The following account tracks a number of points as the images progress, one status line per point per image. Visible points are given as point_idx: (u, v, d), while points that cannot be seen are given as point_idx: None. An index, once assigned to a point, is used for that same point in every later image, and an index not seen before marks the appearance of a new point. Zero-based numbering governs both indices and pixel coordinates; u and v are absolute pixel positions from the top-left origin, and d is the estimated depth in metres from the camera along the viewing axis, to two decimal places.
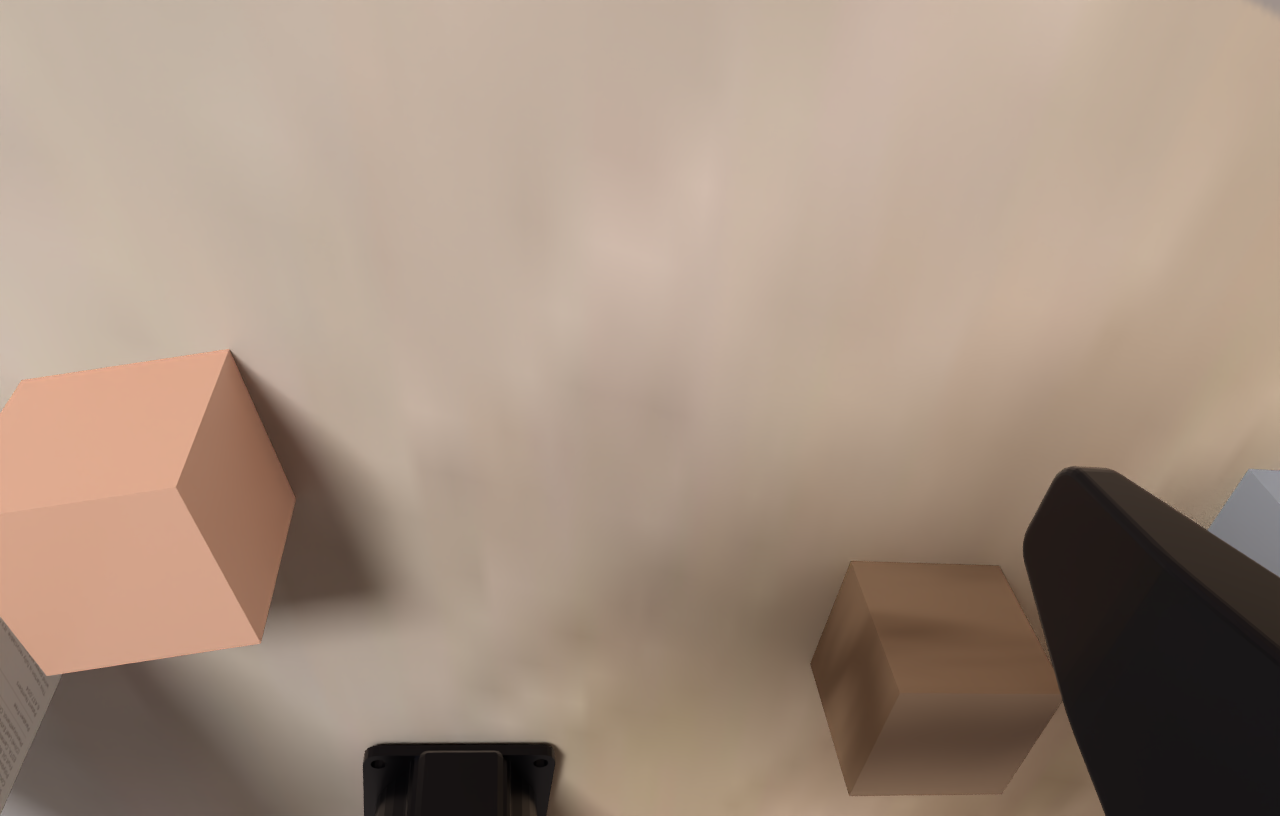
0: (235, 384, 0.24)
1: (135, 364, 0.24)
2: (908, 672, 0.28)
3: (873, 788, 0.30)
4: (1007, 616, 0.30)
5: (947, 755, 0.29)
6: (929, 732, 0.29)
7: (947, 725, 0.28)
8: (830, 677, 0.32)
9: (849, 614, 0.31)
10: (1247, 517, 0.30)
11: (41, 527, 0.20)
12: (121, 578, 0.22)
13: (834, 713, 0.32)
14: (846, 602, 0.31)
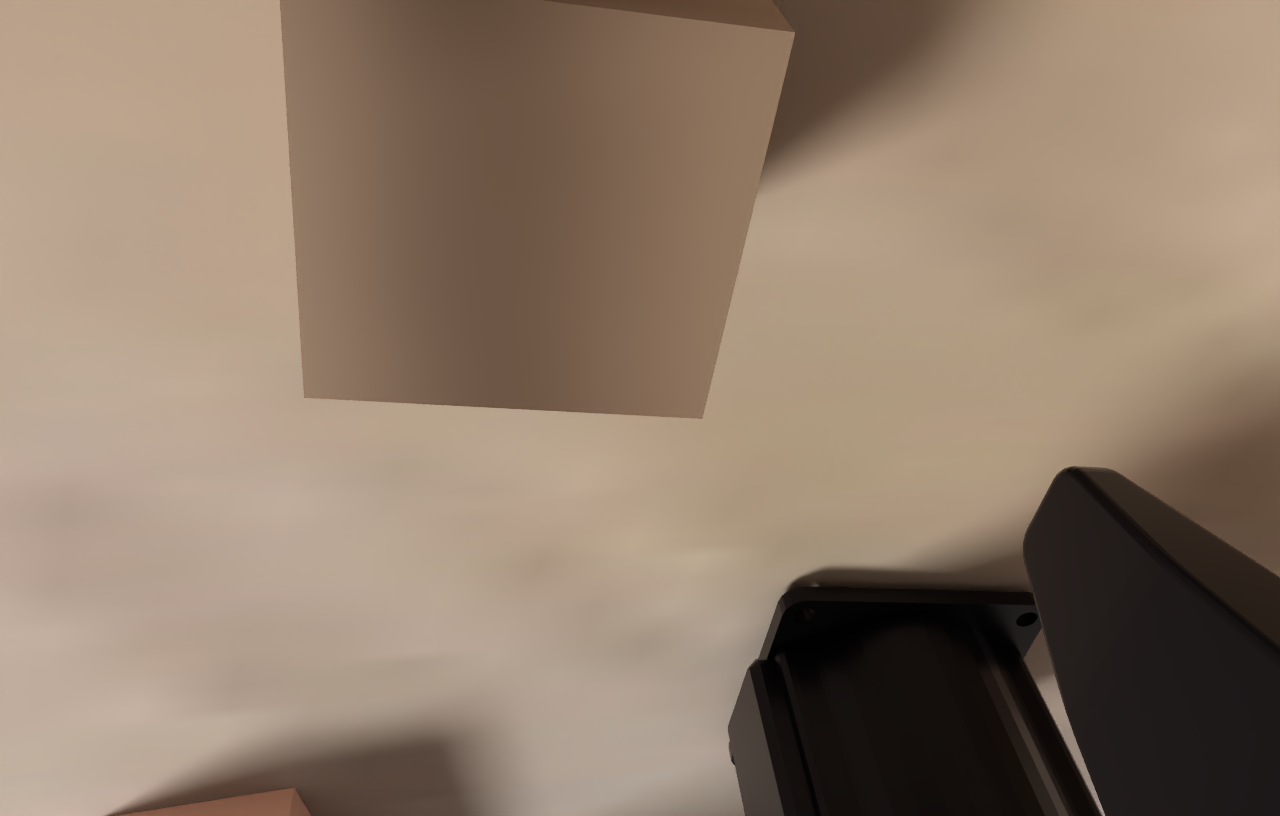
0: None
1: None
2: None
3: (681, 376, 0.13)
4: None
5: (563, 241, 0.11)
6: (459, 303, 0.12)
7: (429, 270, 0.11)
8: None
9: None
10: None
11: None
12: None
13: None
14: None
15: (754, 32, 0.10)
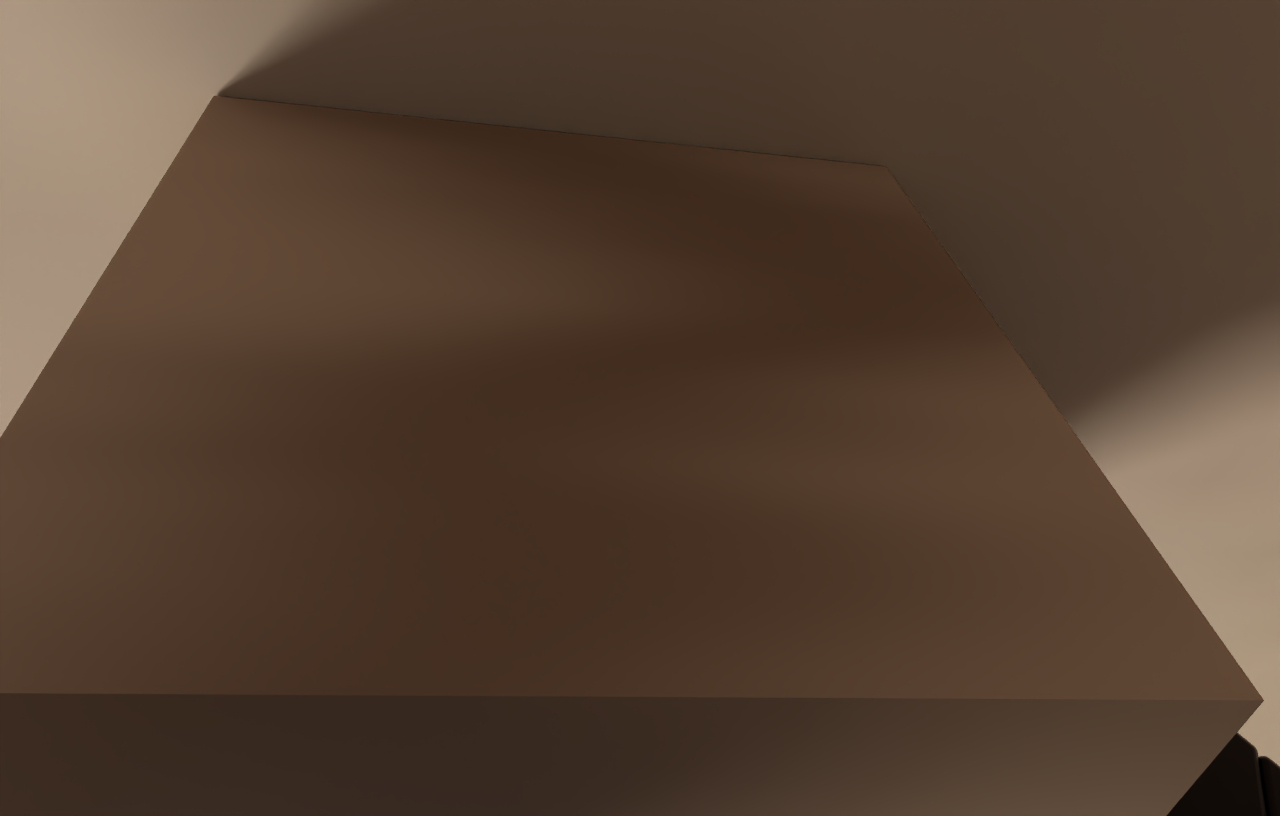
0: None
1: None
2: None
3: None
4: None
5: None
6: None
7: None
8: None
9: None
10: None
11: None
12: None
13: None
14: None
15: (1160, 702, 0.04)
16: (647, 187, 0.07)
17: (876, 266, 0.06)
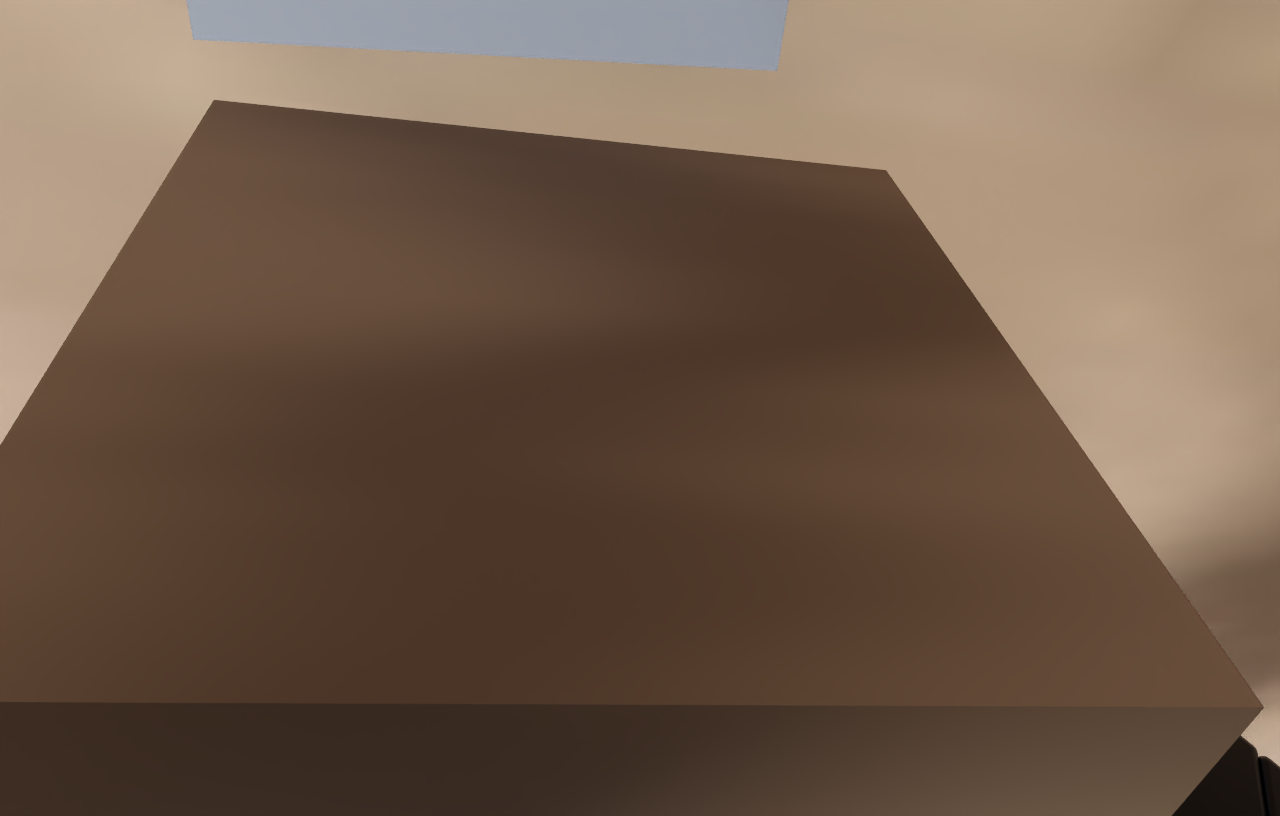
0: None
1: None
2: None
3: None
4: None
5: None
6: None
7: None
8: None
9: None
10: None
11: None
12: None
13: None
14: None
15: (1160, 709, 0.04)
16: (647, 191, 0.07)
17: (876, 271, 0.06)
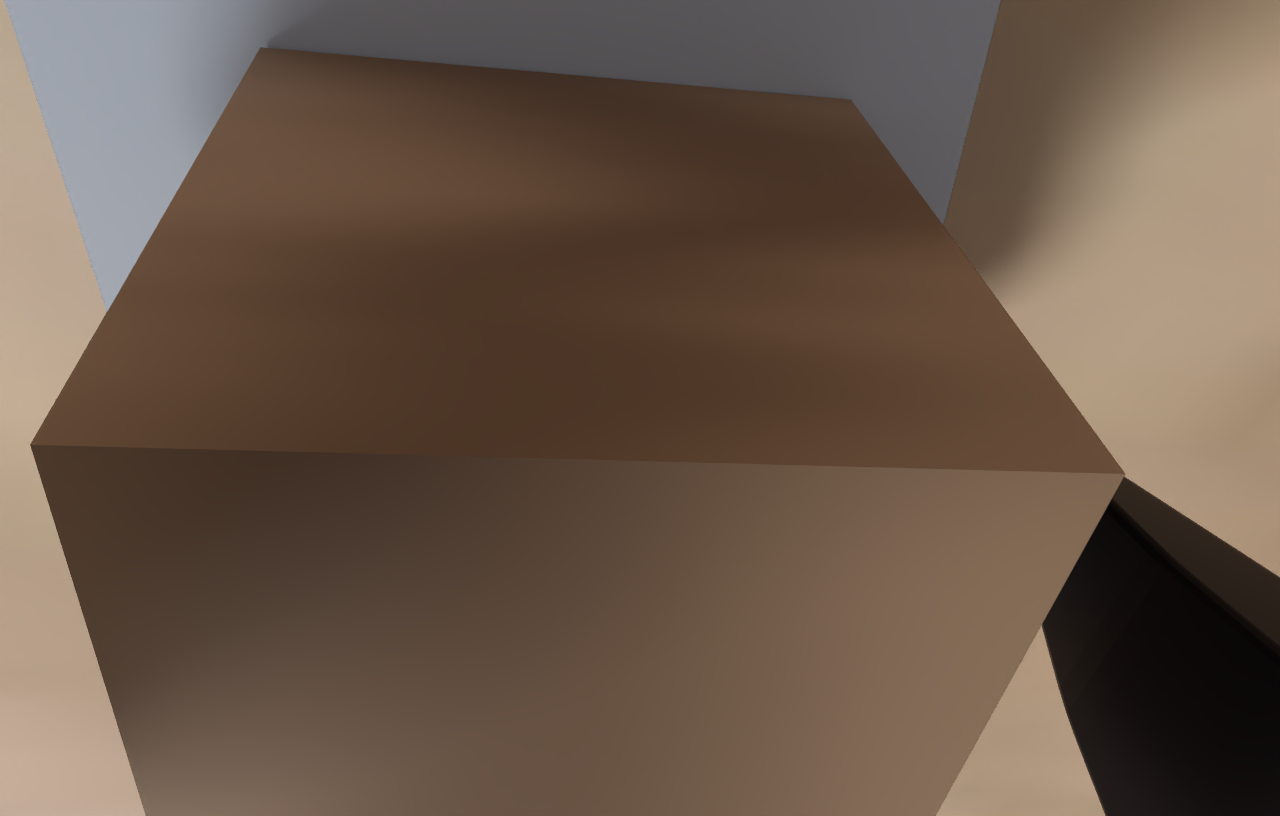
0: None
1: None
2: None
3: None
4: None
5: (643, 780, 0.06)
6: None
7: None
8: None
9: None
10: None
11: None
12: None
13: None
14: None
15: (1042, 476, 0.05)
16: (637, 116, 0.08)
17: (836, 176, 0.07)
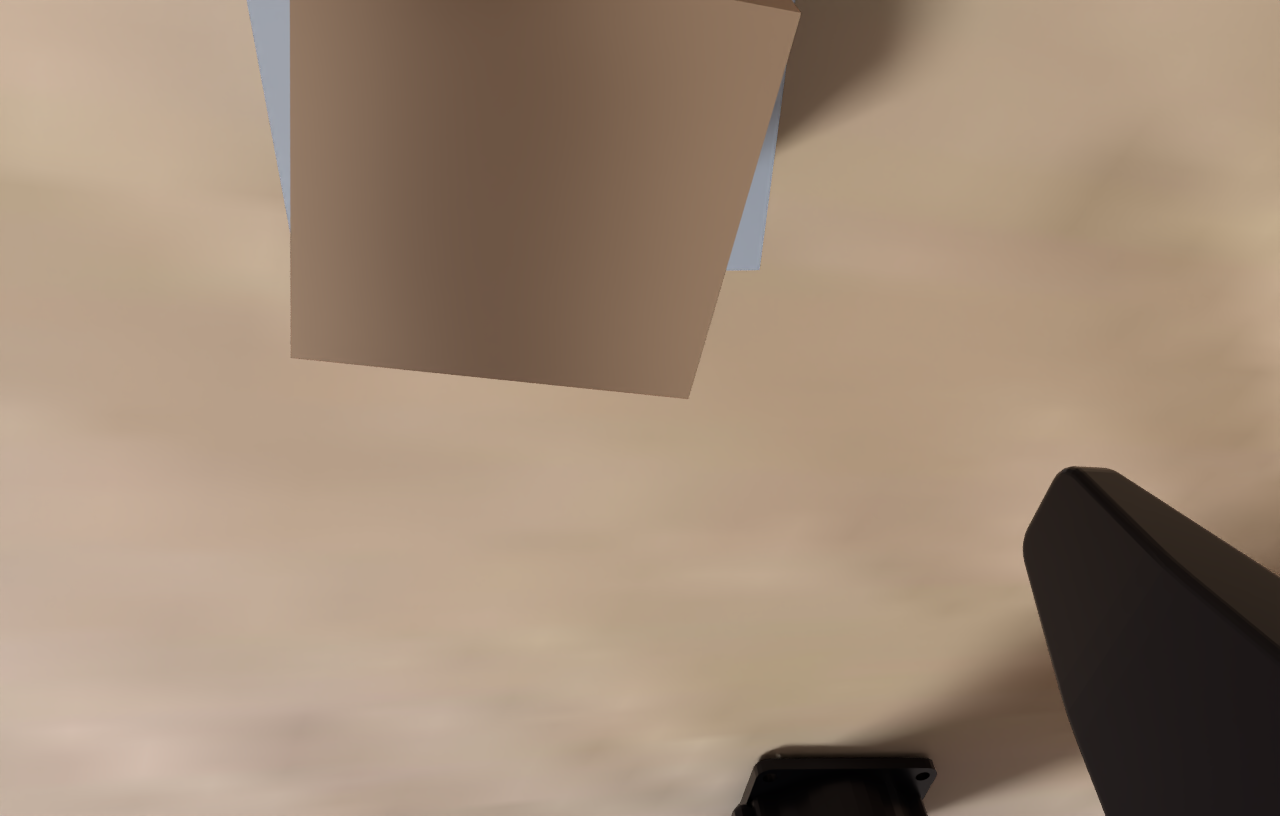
0: None
1: None
2: None
3: (669, 355, 0.13)
4: None
5: (560, 211, 0.11)
6: (453, 270, 0.12)
7: (424, 233, 0.11)
8: None
9: None
10: None
11: None
12: None
13: None
14: None
15: (760, 10, 0.10)
16: None
17: None
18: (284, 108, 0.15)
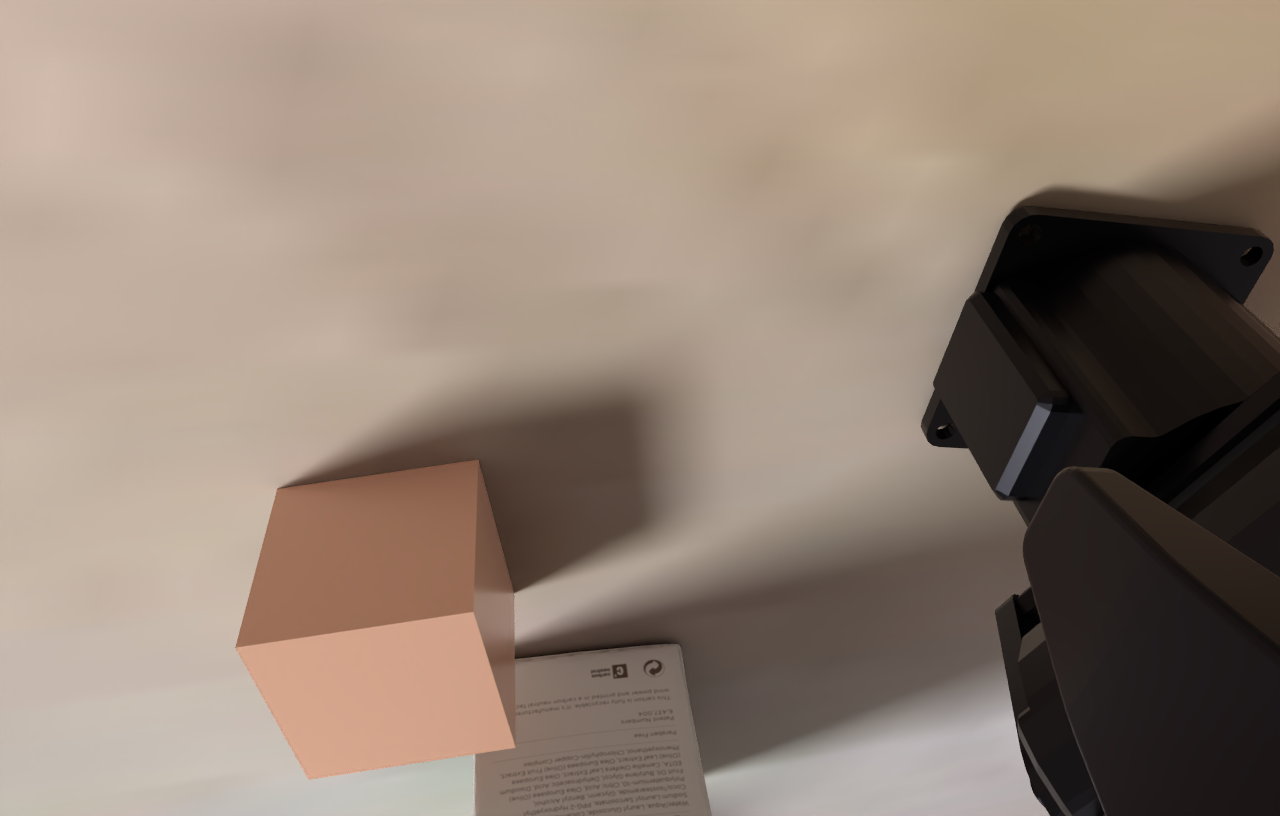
0: (303, 497, 0.24)
1: None
2: None
3: None
4: None
5: None
6: None
7: None
8: None
9: None
10: None
11: (303, 726, 0.23)
12: (370, 691, 0.22)
13: None
14: None
15: None
16: None
17: None
18: None
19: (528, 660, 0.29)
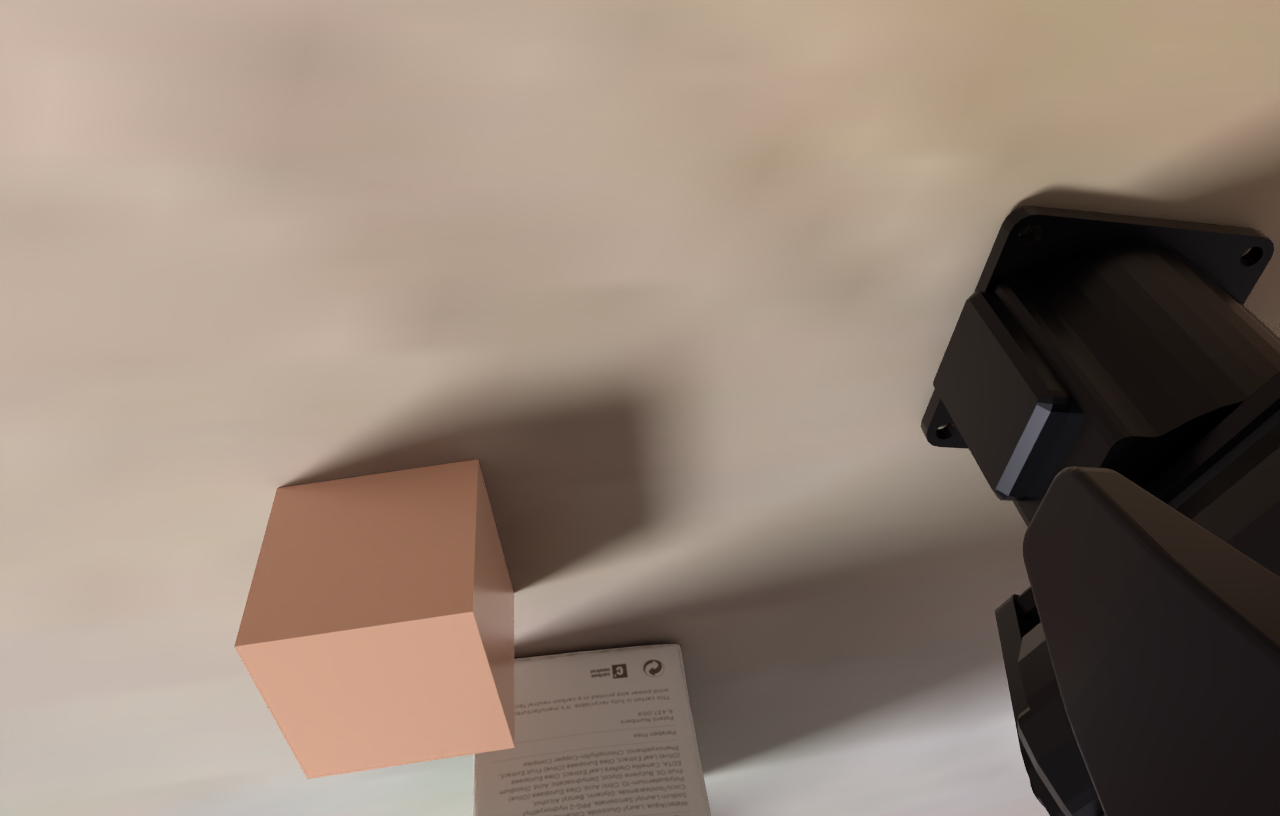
0: (302, 496, 0.24)
1: None
2: None
3: None
4: None
5: None
6: None
7: None
8: None
9: None
10: None
11: (302, 726, 0.23)
12: (369, 691, 0.22)
13: None
14: None
15: None
16: None
17: None
18: None
19: (527, 660, 0.29)
